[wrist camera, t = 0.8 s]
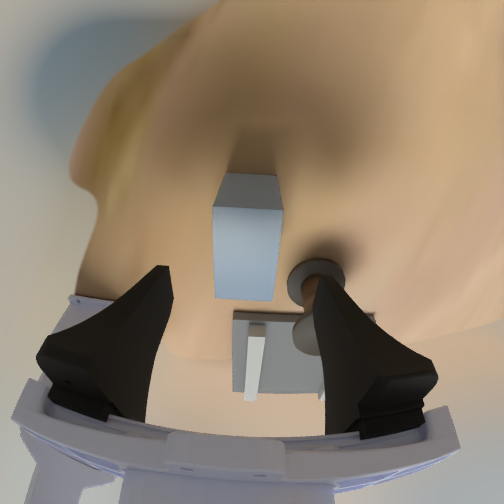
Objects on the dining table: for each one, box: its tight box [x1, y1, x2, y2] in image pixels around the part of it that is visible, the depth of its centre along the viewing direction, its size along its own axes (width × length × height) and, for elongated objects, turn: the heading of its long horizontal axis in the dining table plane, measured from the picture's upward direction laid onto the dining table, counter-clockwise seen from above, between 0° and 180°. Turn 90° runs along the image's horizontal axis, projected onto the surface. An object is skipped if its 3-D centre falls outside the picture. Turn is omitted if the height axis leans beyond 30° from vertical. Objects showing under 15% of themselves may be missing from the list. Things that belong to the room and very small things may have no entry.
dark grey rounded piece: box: [287, 258, 345, 356], centre depth 21 cm, size 5×5×6 cm
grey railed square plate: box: [233, 312, 376, 401], centre depth 28 cm, size 14×14×2 cm
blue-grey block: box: [213, 173, 284, 301], centre depth 18 cm, size 4×6×6 cm, turn 177°
